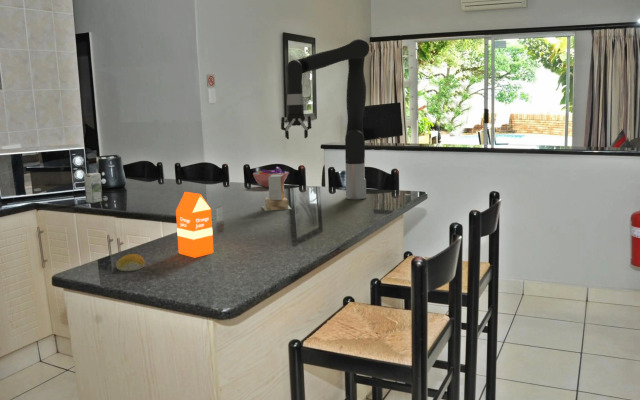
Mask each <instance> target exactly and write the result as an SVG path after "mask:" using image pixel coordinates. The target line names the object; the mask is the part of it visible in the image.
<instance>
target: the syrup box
mask: <svg viewBox="0 0 640 400" xmlns="http://www.w3.org/2000/svg"><path fill="white" fill-rule="evenodd" d="M101 178H102V175H101V173H99V172H89V173H84V174H83V180H84V181H83V182H84V192H85V194H84V195H85V202H86V203H87V204H88V203H89V204H95V203H101V202H103V190H102V179H101Z"/></svg>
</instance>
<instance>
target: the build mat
mask: <svg viewBox="0 0 640 400" xmlns="http://www.w3.org/2000/svg"><path fill="white" fill-rule="evenodd" d="M261 207H262V209H263V210H264V211H266V212H267V211H269V210H268V209H267V208H266V206H265V205H264V206H261ZM279 210H280V211H281V210H283V209H277V210H276V211H279ZM287 210H292V208H291V206H290V205H289V204H288V209H287Z"/></svg>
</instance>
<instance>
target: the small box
mask: <svg viewBox="0 0 640 400" xmlns="http://www.w3.org/2000/svg"><path fill="white" fill-rule="evenodd" d="M268 181H269V187H268V198H269V200H282V199H283V198H284V197H285V181H284V175H271V176H270V177H268Z"/></svg>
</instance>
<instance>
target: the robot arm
mask: <svg viewBox="0 0 640 400" xmlns="http://www.w3.org/2000/svg"><path fill="white" fill-rule="evenodd" d="M369 52H370V44H369V43H368V42H367V40H365V39H363V38H356V39H353V40H352V41H351V42H349V43H347V44H345V45H343V46H340V47H337V48H334V49H329V50H325V51H321V52H317V53H313V54H311V55H307V56H305V57H302V58H299V59H292V60H290V61H289V62H288V63H286V69H285V70H286V72H287V85H286V86H287V96H286V97H287V98H286V99H287V101H286V102H287V104H286V105H287V116H286V117H285V116H281V118H280V129H281V130H282V131H284V135H285V138H286V140H290V135H289V129H290V128H291V127H292V126H293V127H295V126H296V127H297V126H299V127H300V126H301V127H302V128H303V135H304V137H303V138H304V139H307V138H308V135H309V133H308V132H309V130H311V129H312V128H313V127H312V119H311V115H307V116H306V115H304V114H305V111H304V110H305V109H304V103H305V102H304V96H303V95H304V94H303V74H305V73H308V72H310V71H311V72H312V71H316V70H319V69H323V68H326V67H329V66H332V65H334V64H337V63H340V62H344V61H347V62H348V64H347V65H348V71H347V72H348V73H347V74H348V75H347V81H346V82H347V84H346V99H345V100H346V115H347V124H346V125H347V126H346V133H345V137H344V138H345V139H344V144H345V145H344V147H345V152H344V153H345V157H344V158H345V198H346V199H348V200H362V199H363V200H364V199H367V179H366V178H365V177H366V175H365V173H366V172H365V171H366V169H365V164H366V162H365V160H366V157H365V155H366V152H365V151H366V148H365V147H366V145H365V143H366V141H365V136H364V127H363V126H364V121H363V120H364V112H365V107H366V101H367V85H366V77H365V72H364V71H365V69H364V68H365V67H364V66H365V59H366V57H367V56H368V54H369ZM287 121H288V123H287V124H286V127H285V122H287ZM305 121H307V125H306V124H305V123H304V122H305Z"/></svg>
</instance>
